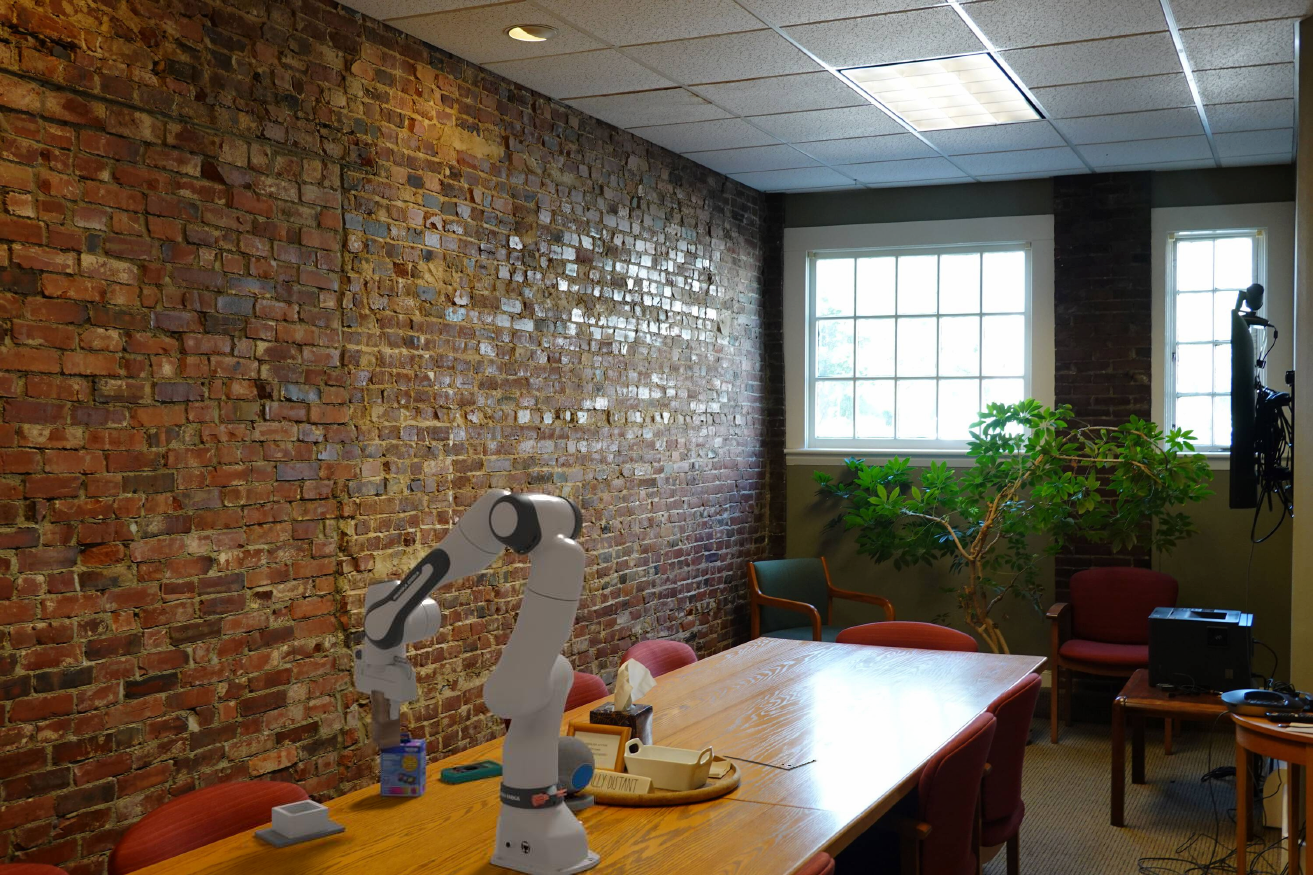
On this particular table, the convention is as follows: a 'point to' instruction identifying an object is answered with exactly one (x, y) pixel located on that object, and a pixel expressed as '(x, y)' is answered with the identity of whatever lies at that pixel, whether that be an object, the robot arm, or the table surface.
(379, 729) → the peg
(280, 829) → the dock
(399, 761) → the ink cartridge box
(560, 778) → the webcam
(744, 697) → the table surface
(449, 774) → the digital multimeter
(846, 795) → the table surface
